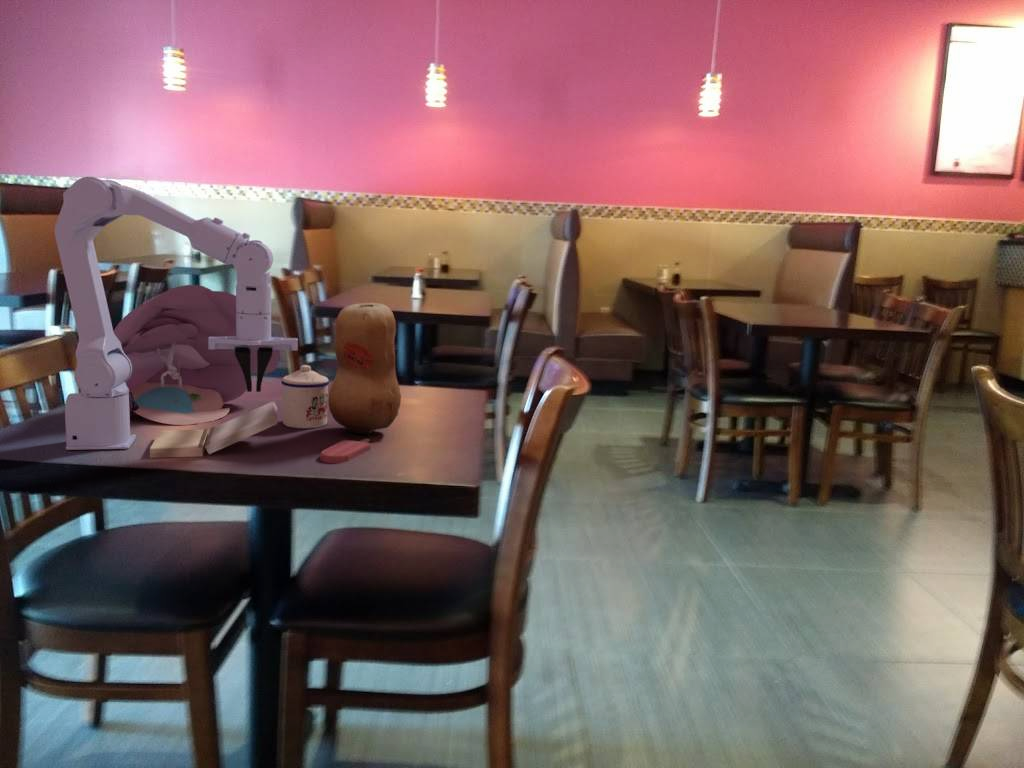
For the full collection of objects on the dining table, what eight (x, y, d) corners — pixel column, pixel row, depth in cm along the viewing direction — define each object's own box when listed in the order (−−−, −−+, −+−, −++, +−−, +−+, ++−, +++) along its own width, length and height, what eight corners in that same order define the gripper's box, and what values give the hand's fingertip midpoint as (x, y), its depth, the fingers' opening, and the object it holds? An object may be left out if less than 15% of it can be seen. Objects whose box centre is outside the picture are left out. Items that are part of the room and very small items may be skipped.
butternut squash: (316, 437, 145) (318, 303, 141) (342, 421, 158) (344, 298, 154) (388, 444, 144) (392, 308, 139) (408, 427, 157) (412, 303, 152)
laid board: (150, 457, 127) (149, 448, 127) (160, 438, 139) (160, 429, 138) (202, 456, 130) (202, 447, 129) (208, 437, 141) (208, 429, 141)
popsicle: (381, 437, 144) (342, 457, 130) (380, 445, 144) (342, 466, 130) (354, 433, 145) (313, 453, 131) (354, 442, 145) (313, 462, 131)
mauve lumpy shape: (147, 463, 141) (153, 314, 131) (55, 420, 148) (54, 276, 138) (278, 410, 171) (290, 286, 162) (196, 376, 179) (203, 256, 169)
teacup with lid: (312, 431, 150) (312, 371, 147) (271, 425, 152) (271, 366, 150) (344, 419, 161) (345, 363, 159) (306, 413, 164) (306, 358, 161)
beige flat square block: (209, 454, 130) (204, 446, 130) (214, 436, 141) (210, 428, 141) (277, 423, 132) (273, 415, 132) (277, 408, 143) (273, 400, 143)
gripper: (206, 314, 128) (207, 395, 130) (298, 316, 132) (297, 395, 134) (209, 309, 134) (210, 387, 137) (297, 311, 138) (296, 387, 141)
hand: (254, 390), depth 136 cm, fingers closed
